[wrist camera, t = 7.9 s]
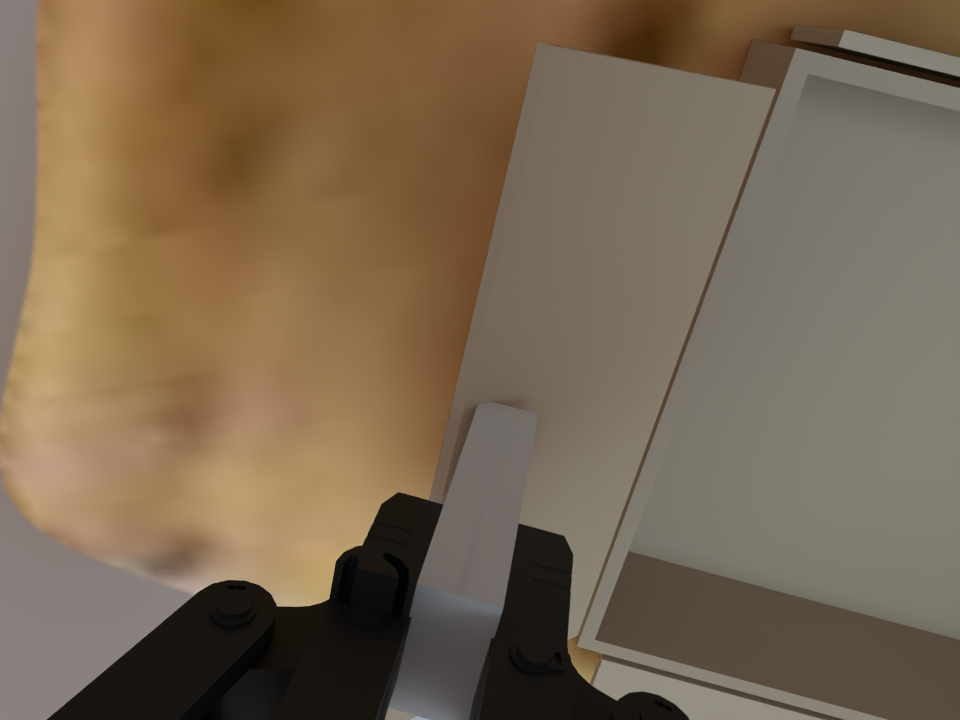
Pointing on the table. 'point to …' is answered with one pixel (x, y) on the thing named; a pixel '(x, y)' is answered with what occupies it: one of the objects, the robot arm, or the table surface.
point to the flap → (598, 278)
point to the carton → (810, 420)
